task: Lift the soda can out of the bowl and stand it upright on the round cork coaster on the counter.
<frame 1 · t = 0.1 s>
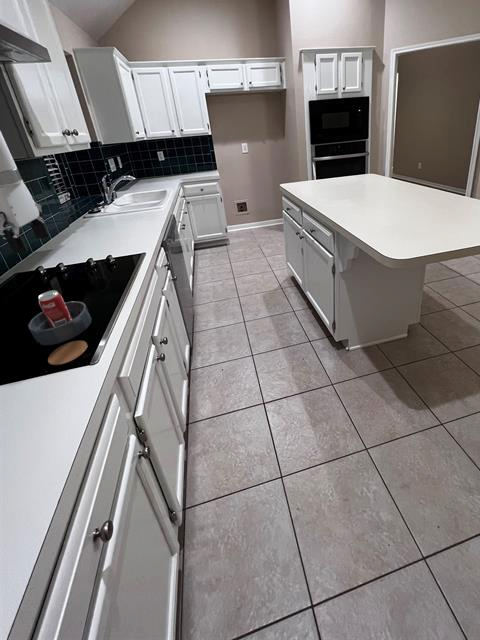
hand: (32, 244, 82), 27 cm above the counter, tool pointing down, fingers open, 9 cm apart
bowl: (65, 330, 93), on the counter
soda can: (65, 329, 93), resting on bowl
coaster: (68, 353, 84), on the counter
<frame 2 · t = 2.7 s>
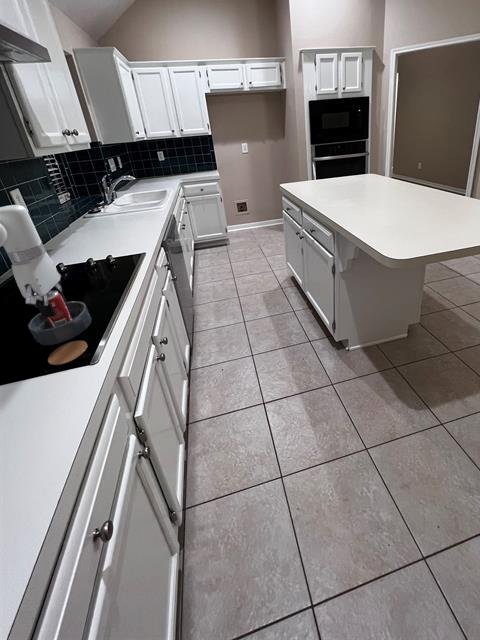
hand: (55, 309, 90), 7 cm above the counter, tool pointing down, fingers closed on soda can, 5 cm apart
soda can: (65, 329, 93), resting on bowl, touching gripper
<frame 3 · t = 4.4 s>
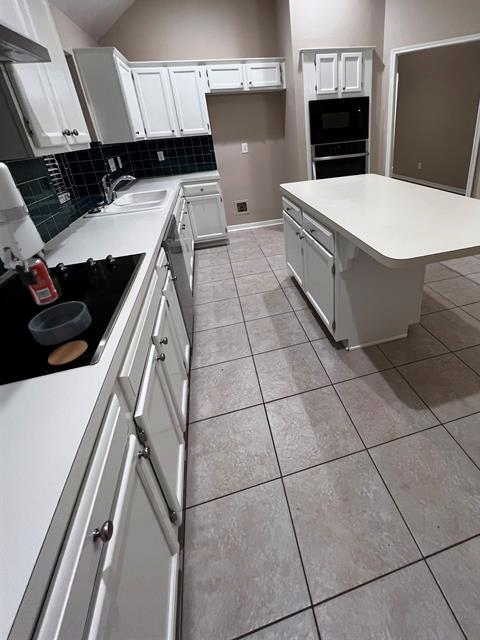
hand: (37, 278, 85), 18 cm above the counter, tool pointing down, fingers closed on soda can, 5 cm apart
soda can: (47, 300, 88), point 11 cm above the counter, touching gripper
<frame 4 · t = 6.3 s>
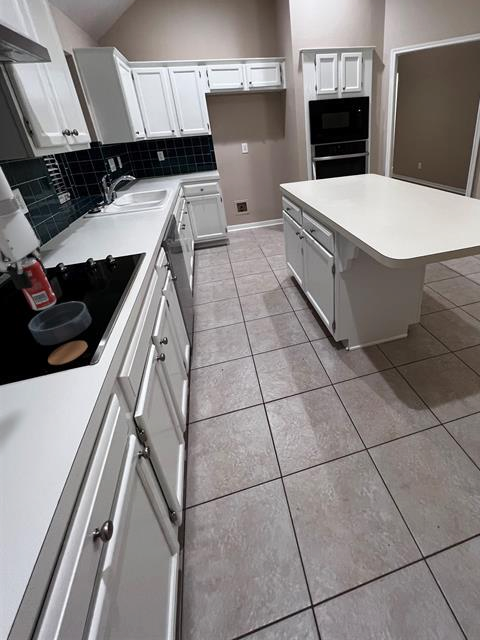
hand: (32, 281, 75), 22 cm above the counter, tool pointing down, fingers closed on soda can, 5 cm apart
soda can: (45, 305, 78), point 15 cm above the counter, touching gripper
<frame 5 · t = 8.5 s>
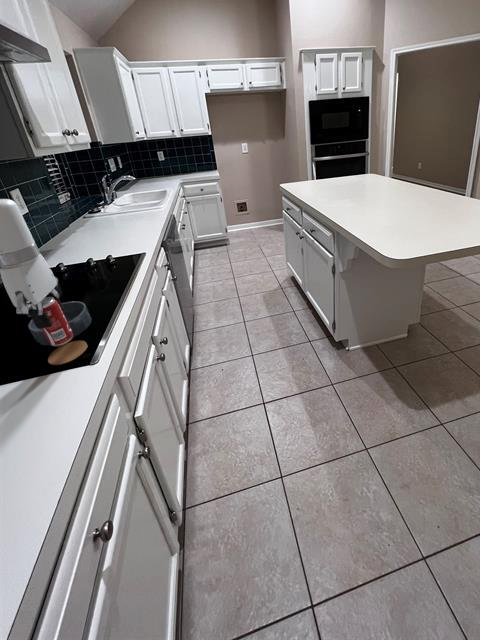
hand: (51, 319, 79), 11 cm above the counter, tool pointing down, fingers closed on soda can, 5 cm apart
soda can: (62, 340, 82), point 4 cm above the counter, touching gripper
when the fingers open (7 cm above the counter, at t = 9.9 s): soda can stays where it is, resting on coaster.
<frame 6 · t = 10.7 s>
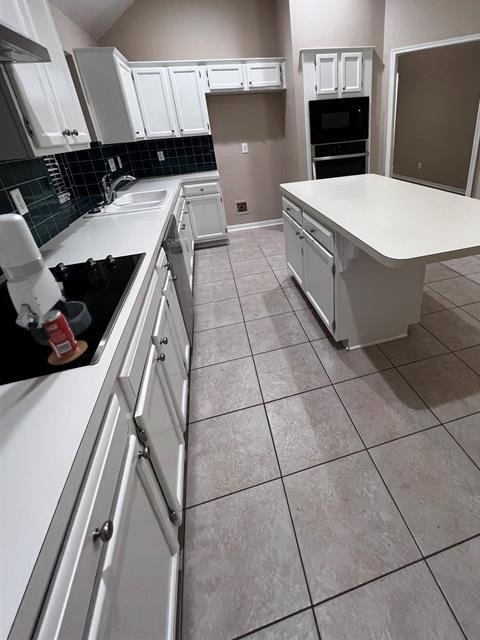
hand: (54, 327, 80), 9 cm above the counter, tool pointing down, fingers open, 9 cm apart
soda can: (68, 352, 84), resting on coaster
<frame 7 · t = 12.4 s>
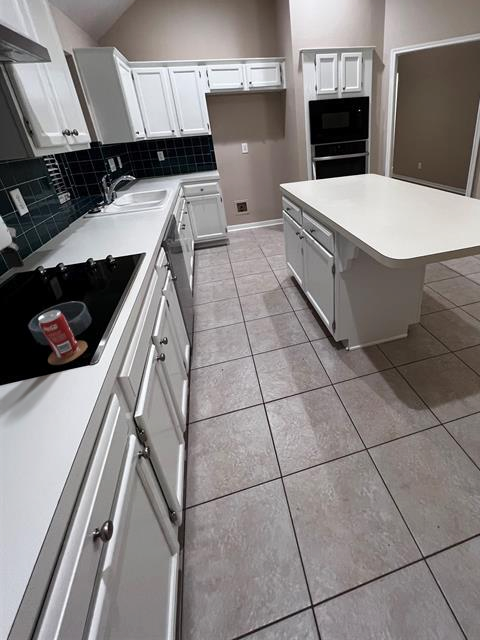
hand: (2, 276, 70), 25 cm above the counter, tool pointing down, fingers open, 9 cm apart
nothing on the counter moved.
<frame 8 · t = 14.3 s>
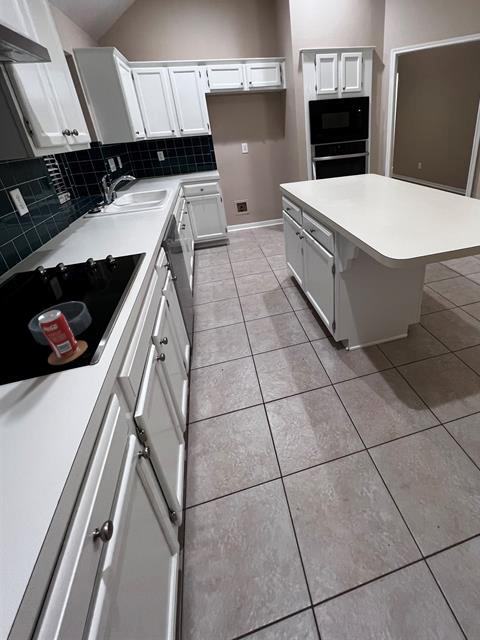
nothing on the counter moved.
at the end: soda can 0.0 cm off-centre on the coaster, point 0.2 cm above the coaster's base; soda can tilted 0°; soda can touching coaster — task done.
